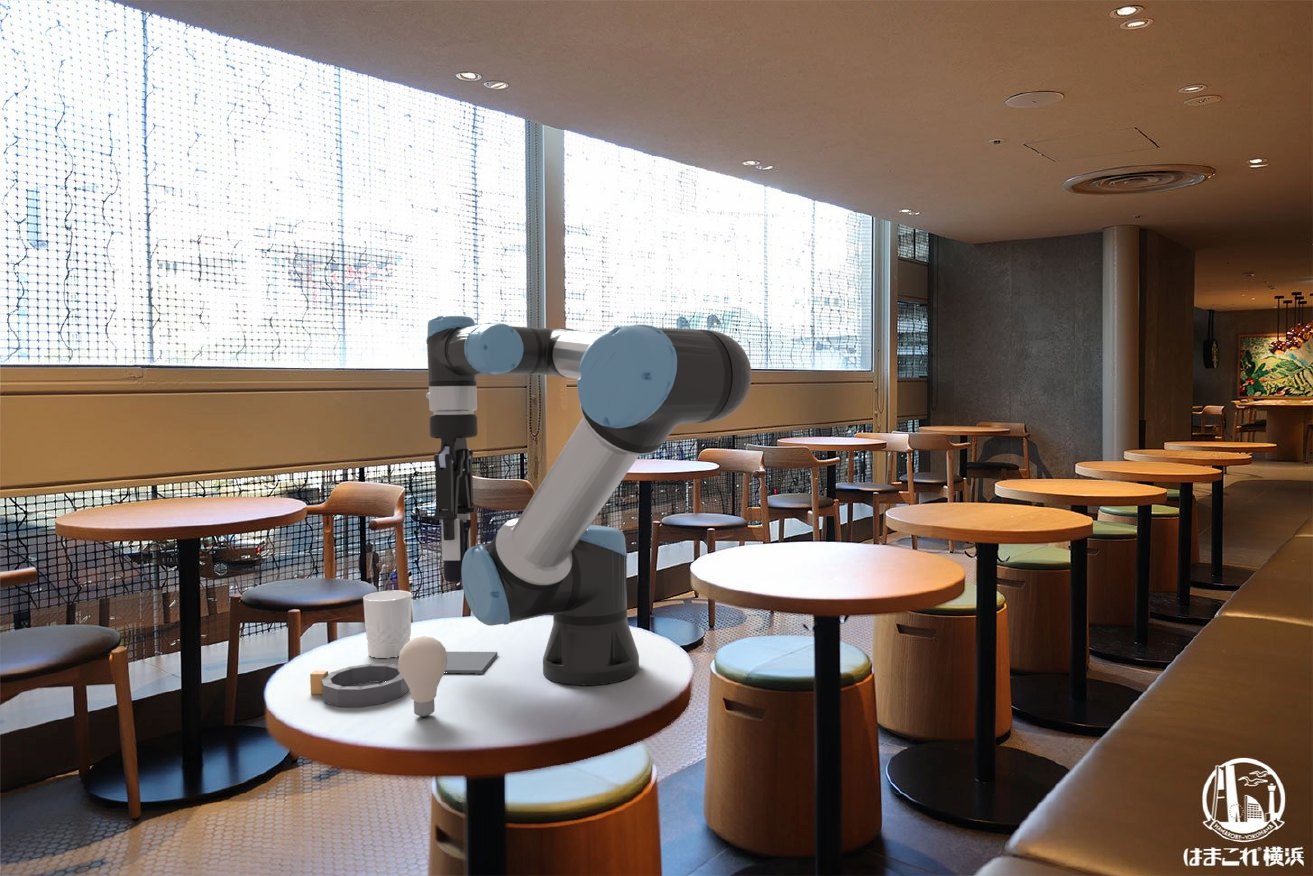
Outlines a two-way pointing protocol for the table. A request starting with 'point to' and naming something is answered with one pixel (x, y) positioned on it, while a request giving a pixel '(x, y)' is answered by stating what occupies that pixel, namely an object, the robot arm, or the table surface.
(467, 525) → the two-way radio
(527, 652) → the table surface
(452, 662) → the mat
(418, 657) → the light bulb
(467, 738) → the table surface
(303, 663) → the table surface
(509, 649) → the table surface
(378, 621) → the white cup
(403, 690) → the dock collar
